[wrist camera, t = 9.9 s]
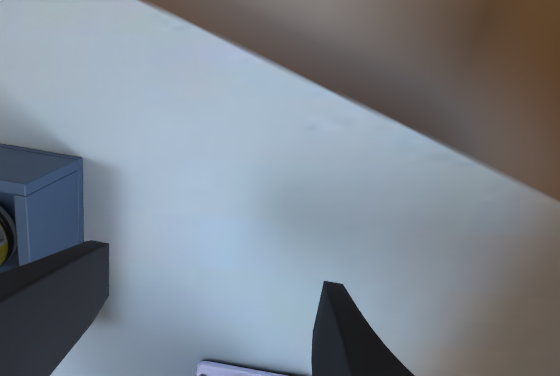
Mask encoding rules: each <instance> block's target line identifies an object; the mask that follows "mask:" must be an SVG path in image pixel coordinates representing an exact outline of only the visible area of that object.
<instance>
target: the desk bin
mask: <svg viewBox="0 0 560 376" xmlns="http://www.w3.org/2000/svg"><path fill="white" fill-rule="evenodd" d="M0 206H2V207H3V208H4V209H5V210H6V211H7V213H8V214H9V215H10V217H11V218H12V220H13V222H14V224H15V226H16V232H17V247H16V250H15V252H14V254H13V255H12V256H11V258H10V259H8V260H7V261H6V262H5V263H3V264H2V265H1V266H0V273H1V272H4V271H7V270H10V269H13V268H16V267H19V266H22V265H25V264H28V263H30V262H33V261H36V260H38V259H41V258H44V257H46V256H49V255H51V254H54V253H57V252H59V251H62V250H64V249H67V248H70V247H72V246H75V245H78V244H81V243H84V232H83V174H82V158H81V157H75V156H69V155H63V154H57V153H51V152H45V151H40V150H34V149H28V148H22V147H16V146H10V145H4V144H0Z"/></svg>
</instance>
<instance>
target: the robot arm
mask: <svg viewBox="0 0 560 376" xmlns="http://www.w3.org/2000/svg"><path fill="white" fill-rule="evenodd" d="M108 296H109V243H103V242H97V241H92V240H91V241H87V242H84V243H81V244H78V245H75V246H72V247H70V248H67V249H64V250H62V251H59V252H57V253H54V254H51V255H49V256H46V257H44V258H41V259H38V260H36V261H33V262H30V263H28V264H25V265H22V266H19V267H16V268H13V269H10V270H7V271H4V272H1V273H0V376H50V375H51V373H52V372H53V371H54V370H55V368H56V367H57V366H58V365H59V363H60V362H61V361H62V360H63V359H64V357H65V356H66V355H67V354H68V352H69V351H70V350H71V349H72V347H73V346H74V345H75V344H76V343H77V341H78V340H79V339H80V338H81V336H82V335H83V334H84V333H85V331H86V330H87V329H88V328H89V326H90V325H91V324H92V322H93V321H94V319H95V318H96V316H97V315H98V313H99V311H100V310H101V308H102V306H103V305H104V303H105V301H106V299H107V298H108ZM311 361H312V376H414V375H413V374H412V373H411V372H410V371H409V370H408V369H407V368H406V367H405V366H404V365H403V364H402V363H401V362H400V361H399V360H398V359H397V358H396V357H395V356H394V355H393V353H392V352H391V351H390V350H389V349H388V348H387V347H386V346H385V344H384V343H383V342H382V341H381V339H380V338H379V337H378V336H377V334H376V333H375V332H374V331H373V329H372V328H371V327H370V325H369V324H368V322H367V321H366V319H365V318H364V317H363V315H362V314H361V312H360V311H359V309H358V308H357V306H356V304H355V303H354V301H353V300H352V298H351V296H350V295H349V293H348V292H347V290H346V288H345V287H344V285H343V284H339V283H333V282H328V281H324V284H323V288H322V293H321V297H320V302H319V306H318V311H317V315H316V320H315V324H314V329H313V339H312V360H311ZM202 374H205V375H206V376H287V375H281V374H276V373H270V372H265V371H259V370H253V369H248V368H242V367H237V366H231V365H225V364H220V363H214V362H209V361H202V362H200V363H199V364H198V367H197V371H196V376H204V375H202Z"/></svg>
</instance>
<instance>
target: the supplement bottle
mask: <svg viewBox="0 0 560 376" xmlns="http://www.w3.org/2000/svg"><path fill="white" fill-rule="evenodd" d="M16 247H17V232H16V226H15V224H14V222H13V220H12V218H11V217H10V215H9V214H8V213H7V211H6V210H5V209H4V208H3V207H2V206H0V266H1V265H2V264H3V263H5V262H6V261H7V260H8V259H10V258H11V256H12V255H13V254H14V252H15V250H16Z"/></svg>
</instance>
